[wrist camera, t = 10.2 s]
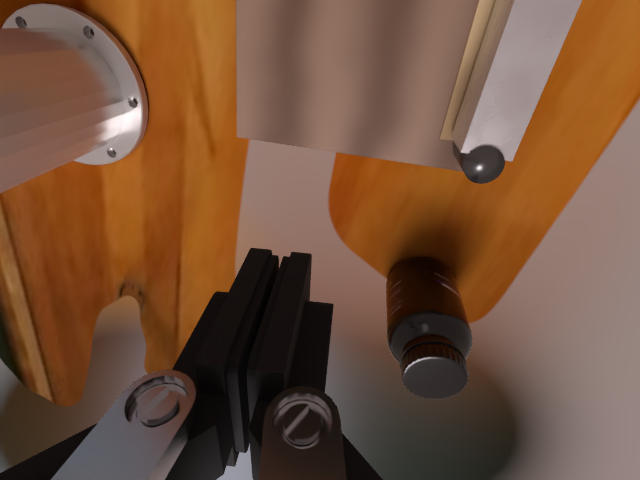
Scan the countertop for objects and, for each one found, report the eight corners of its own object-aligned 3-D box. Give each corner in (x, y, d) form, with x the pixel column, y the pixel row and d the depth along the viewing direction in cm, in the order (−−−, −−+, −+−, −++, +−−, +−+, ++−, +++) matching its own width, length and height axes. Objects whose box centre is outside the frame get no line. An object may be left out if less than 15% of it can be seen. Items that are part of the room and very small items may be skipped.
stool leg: (485, 166, 27) (501, 187, 23) (442, 159, 27) (452, 178, 24) (601, -123, 19) (651, -156, 15) (538, -132, 19) (574, -166, 15)
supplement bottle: (464, 261, 35) (501, 359, 25) (441, 313, 39) (465, 417, 29) (394, 247, 35) (402, 338, 25) (378, 300, 39) (378, 398, 29)
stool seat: (248, 127, 31) (236, 137, 29) (250, -128, 23) (234, -149, 20) (483, 163, 30) (493, 176, 27) (575, -92, 22) (603, -108, 19)
